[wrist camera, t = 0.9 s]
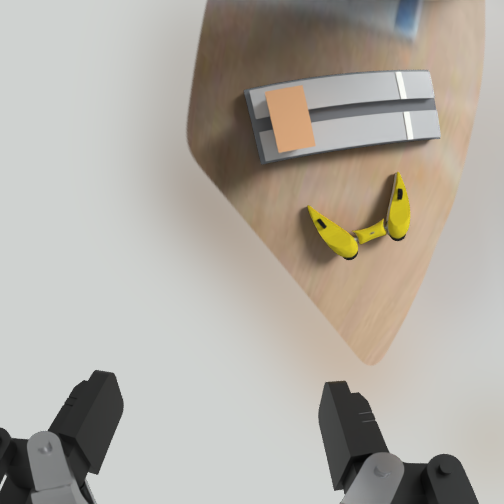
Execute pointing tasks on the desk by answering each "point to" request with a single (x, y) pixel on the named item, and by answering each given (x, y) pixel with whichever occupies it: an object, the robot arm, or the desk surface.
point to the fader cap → (290, 118)
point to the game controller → (394, 226)
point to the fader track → (352, 111)
